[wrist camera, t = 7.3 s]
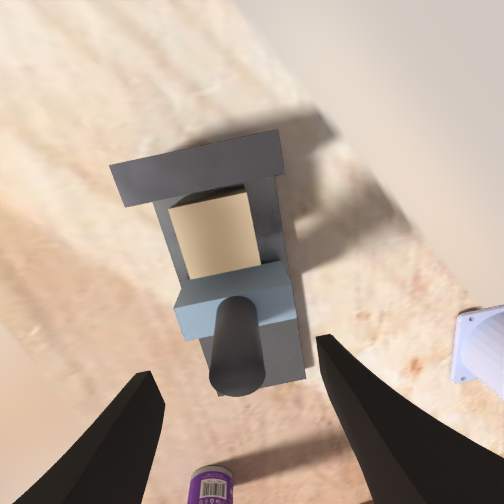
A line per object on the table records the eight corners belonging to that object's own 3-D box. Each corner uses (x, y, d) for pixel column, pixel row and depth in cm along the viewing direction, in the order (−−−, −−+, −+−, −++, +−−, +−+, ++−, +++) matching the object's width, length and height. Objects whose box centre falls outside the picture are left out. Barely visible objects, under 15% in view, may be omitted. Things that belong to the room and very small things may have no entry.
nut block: (243, 184, 16) (246, 192, 12) (255, 242, 18) (261, 264, 14) (183, 197, 16) (167, 209, 12) (199, 254, 18) (190, 279, 14)
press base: (265, 137, 16) (278, 129, 12) (303, 369, 23) (320, 422, 19) (145, 163, 16) (108, 165, 12) (219, 387, 23) (215, 444, 19)
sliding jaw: (280, 260, 18) (315, 336, 10) (285, 289, 19) (321, 379, 11) (184, 280, 18) (147, 371, 10) (194, 308, 19) (166, 411, 11)
